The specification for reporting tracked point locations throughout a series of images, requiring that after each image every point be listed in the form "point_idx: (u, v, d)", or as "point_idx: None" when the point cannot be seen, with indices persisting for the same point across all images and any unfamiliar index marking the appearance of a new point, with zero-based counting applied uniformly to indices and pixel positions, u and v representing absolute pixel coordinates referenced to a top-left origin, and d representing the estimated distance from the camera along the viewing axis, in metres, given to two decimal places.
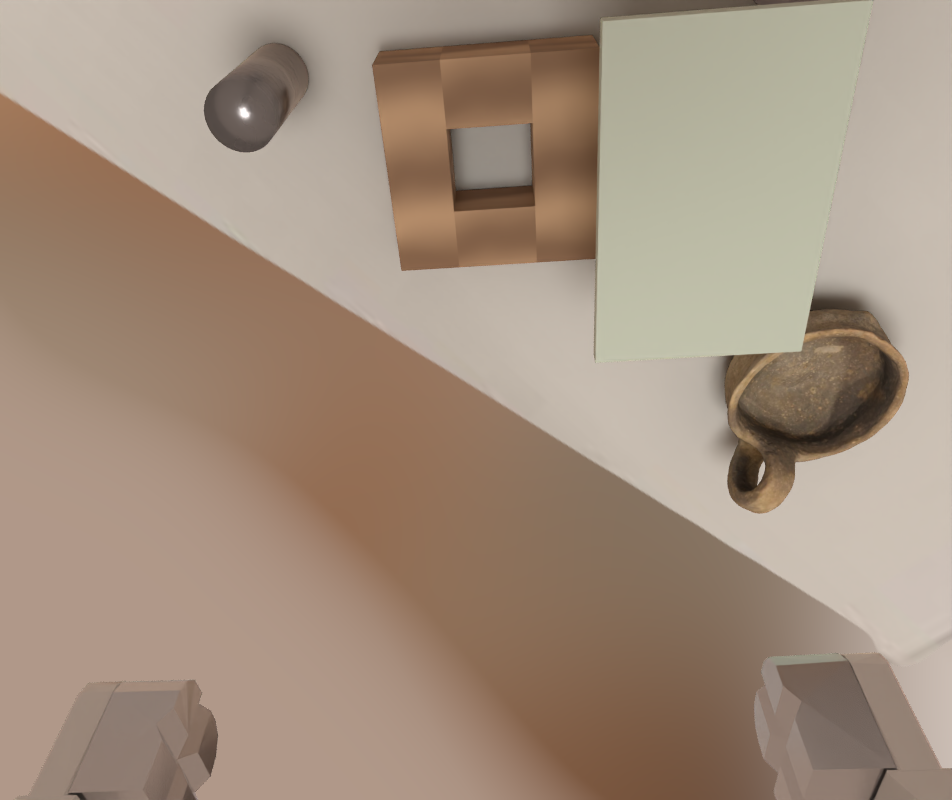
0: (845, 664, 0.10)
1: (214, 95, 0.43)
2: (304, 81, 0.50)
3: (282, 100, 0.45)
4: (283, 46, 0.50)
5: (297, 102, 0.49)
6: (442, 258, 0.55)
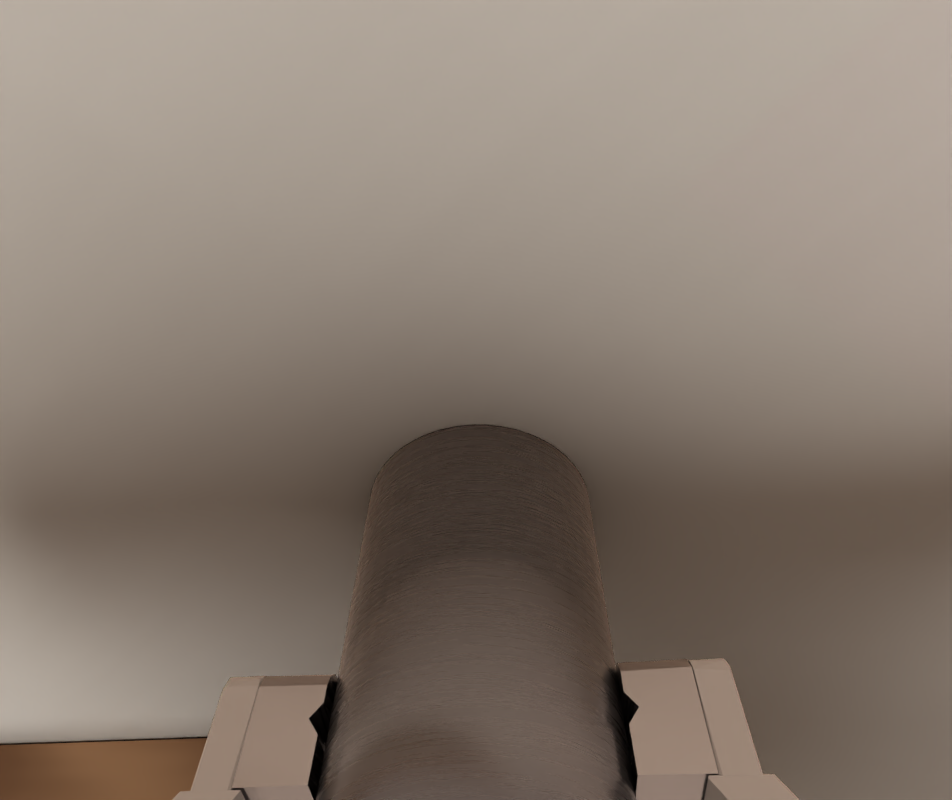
0: (687, 670, 0.10)
1: None
2: None
3: None
4: None
5: None
6: None
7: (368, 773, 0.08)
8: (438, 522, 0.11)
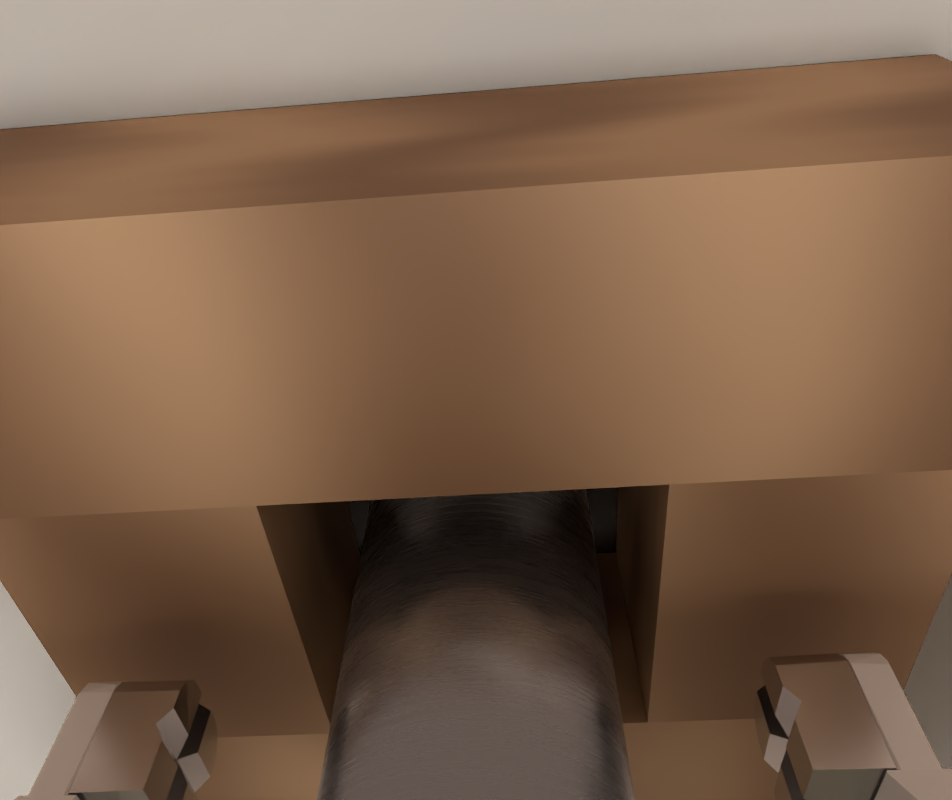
0: (845, 664, 0.10)
1: None
2: None
3: None
4: None
5: None
6: None
7: (383, 661, 0.10)
8: None
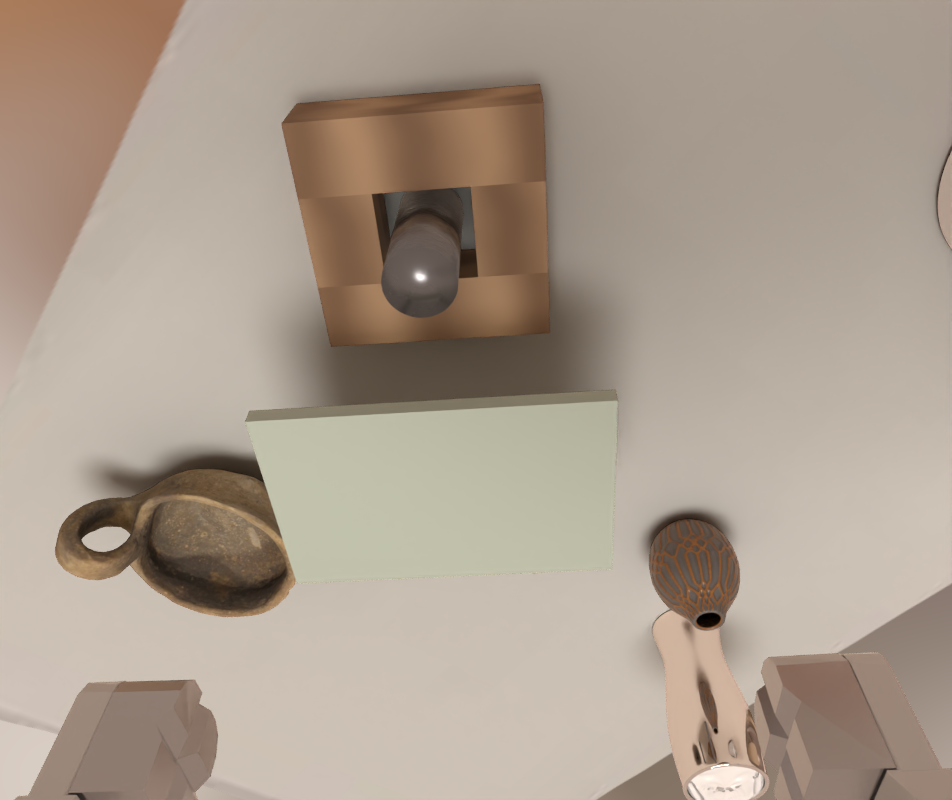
0: (844, 664, 0.10)
1: (440, 261, 0.39)
2: None
3: None
4: None
5: None
6: (307, 178, 0.42)
7: (402, 222, 0.42)
8: (417, 194, 0.45)
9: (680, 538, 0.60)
